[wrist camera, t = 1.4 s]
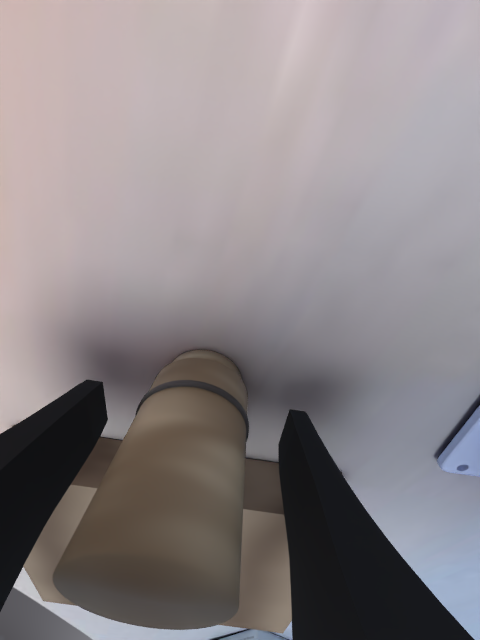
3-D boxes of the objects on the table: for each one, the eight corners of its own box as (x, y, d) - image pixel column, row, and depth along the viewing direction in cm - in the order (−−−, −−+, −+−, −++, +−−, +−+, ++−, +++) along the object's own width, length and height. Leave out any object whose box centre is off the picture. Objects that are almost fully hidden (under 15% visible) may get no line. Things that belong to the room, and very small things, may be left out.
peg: (257, 349, 11) (258, 569, 5) (243, 419, 13) (230, 639, 7) (159, 335, 11) (26, 537, 5) (159, 407, 13) (67, 617, 6)
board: (341, 472, 14) (357, 525, 12) (280, 587, 22) (282, 633, 19) (14, 424, 14) (-32, 470, 12) (65, 557, 21) (43, 601, 19)
